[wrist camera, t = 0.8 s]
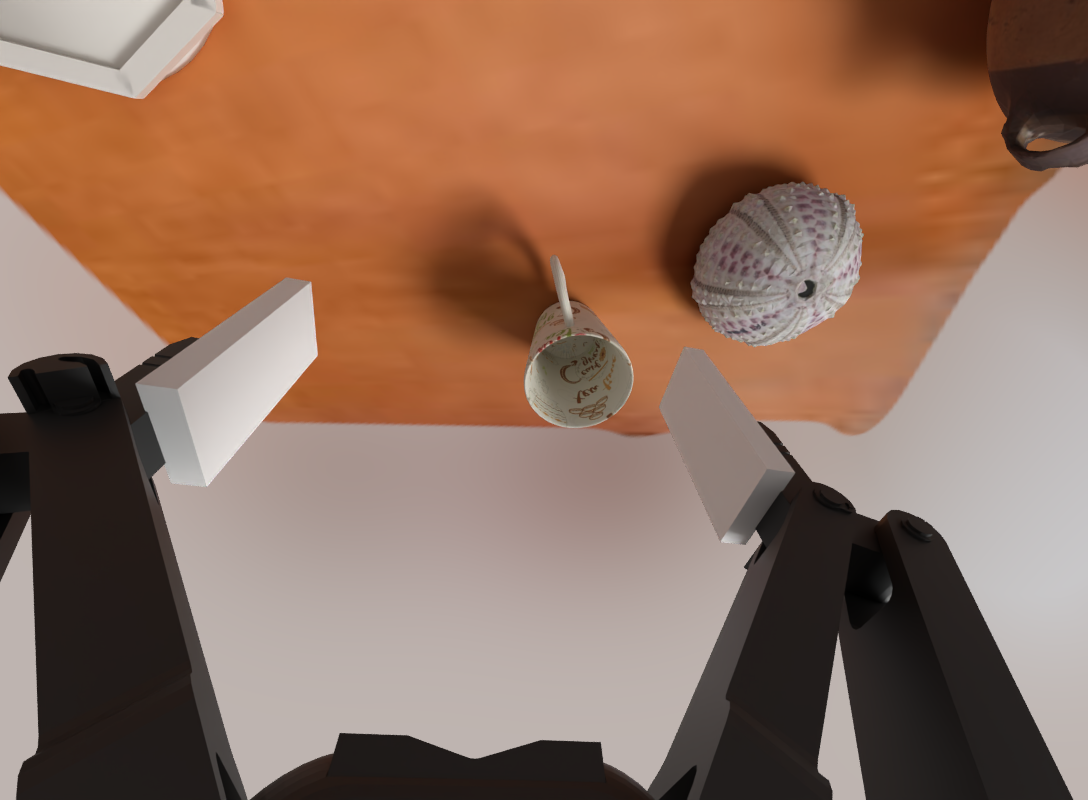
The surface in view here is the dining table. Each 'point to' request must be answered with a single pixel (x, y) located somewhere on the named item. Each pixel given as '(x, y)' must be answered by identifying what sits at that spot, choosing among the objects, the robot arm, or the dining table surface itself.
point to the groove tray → (105, 40)
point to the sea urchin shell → (778, 263)
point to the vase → (1041, 77)
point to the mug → (575, 364)
